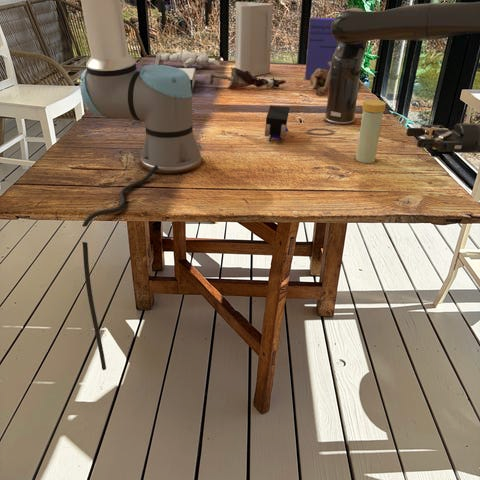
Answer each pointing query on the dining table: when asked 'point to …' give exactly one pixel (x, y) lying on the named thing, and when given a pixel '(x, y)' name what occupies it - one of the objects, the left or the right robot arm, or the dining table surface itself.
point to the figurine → (246, 79)
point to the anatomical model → (321, 80)
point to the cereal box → (319, 45)
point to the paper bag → (253, 37)
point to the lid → (374, 106)
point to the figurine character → (276, 122)
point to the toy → (186, 59)
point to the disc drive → (190, 75)
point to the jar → (369, 136)
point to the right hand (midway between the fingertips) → (412, 137)
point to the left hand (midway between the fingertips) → (185, 24)
